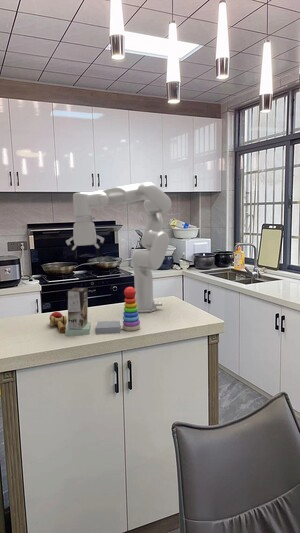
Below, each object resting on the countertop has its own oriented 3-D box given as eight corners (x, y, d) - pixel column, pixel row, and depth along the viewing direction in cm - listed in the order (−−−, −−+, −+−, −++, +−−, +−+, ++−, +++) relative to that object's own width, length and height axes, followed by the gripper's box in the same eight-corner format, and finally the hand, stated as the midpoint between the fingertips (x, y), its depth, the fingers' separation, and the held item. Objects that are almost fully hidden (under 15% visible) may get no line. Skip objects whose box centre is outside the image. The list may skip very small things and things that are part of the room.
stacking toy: (120, 327, 167) (118, 286, 165) (136, 325, 170) (135, 284, 168) (125, 332, 160) (124, 289, 158) (143, 329, 163) (141, 287, 161)
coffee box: (82, 329, 158) (82, 291, 156) (67, 328, 158) (67, 290, 156) (88, 323, 167) (88, 287, 165) (73, 322, 167) (74, 287, 165)
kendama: (73, 334, 165) (64, 318, 180) (70, 321, 162) (61, 307, 178) (56, 339, 162) (48, 323, 178) (53, 326, 160) (45, 311, 175)
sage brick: (90, 328, 169) (90, 322, 168) (89, 335, 159) (89, 328, 159) (68, 330, 168) (67, 323, 167) (65, 337, 158) (65, 330, 158)
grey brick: (120, 327, 170) (119, 320, 169) (120, 333, 160) (119, 326, 159) (97, 328, 169) (97, 321, 169) (96, 335, 159) (96, 328, 159)
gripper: (102, 218, 174) (105, 255, 177) (64, 221, 172) (68, 258, 175) (102, 219, 167) (105, 257, 169) (63, 221, 165) (66, 260, 168)
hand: (86, 257), depth 172 cm, fingers open, 9 cm apart
